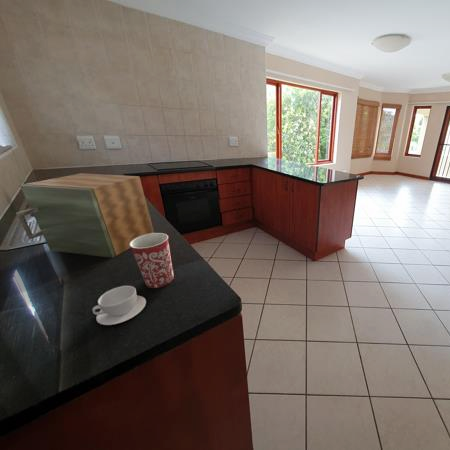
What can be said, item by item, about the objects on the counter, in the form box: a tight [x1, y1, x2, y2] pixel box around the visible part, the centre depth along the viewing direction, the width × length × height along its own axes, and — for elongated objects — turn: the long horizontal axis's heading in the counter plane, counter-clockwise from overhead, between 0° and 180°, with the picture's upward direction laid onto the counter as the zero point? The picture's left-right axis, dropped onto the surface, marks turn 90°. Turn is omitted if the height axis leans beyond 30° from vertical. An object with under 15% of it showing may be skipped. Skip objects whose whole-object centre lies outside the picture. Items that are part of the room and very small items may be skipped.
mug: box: [129, 232, 175, 289], centre depth 68 cm, size 13×9×14 cm
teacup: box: [92, 285, 147, 326], centre depth 57 cm, size 10×10×5 cm
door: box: [16, 184, 116, 258], centre depth 76 cm, size 6×26×24 cm, turn 80°
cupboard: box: [24, 172, 155, 257], centre depth 87 cm, size 18×26×24 cm
